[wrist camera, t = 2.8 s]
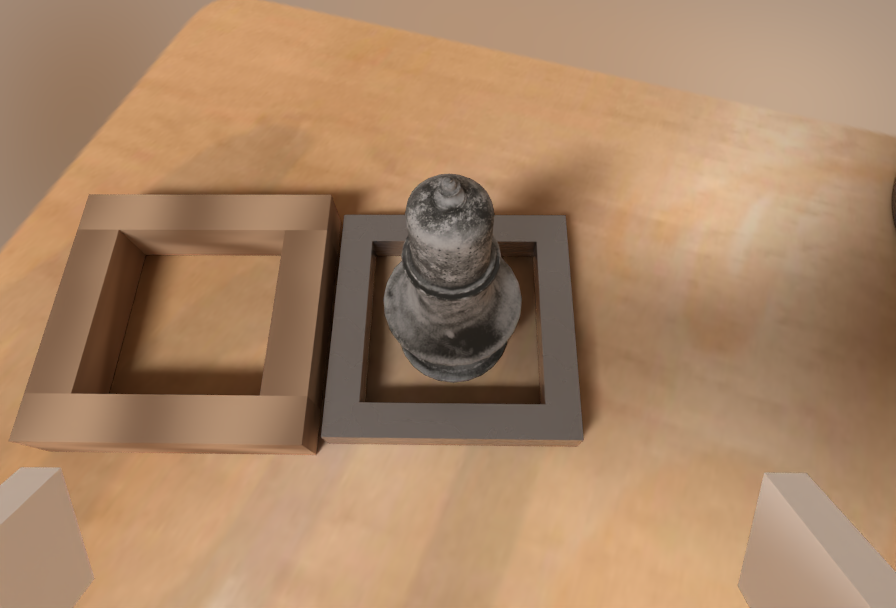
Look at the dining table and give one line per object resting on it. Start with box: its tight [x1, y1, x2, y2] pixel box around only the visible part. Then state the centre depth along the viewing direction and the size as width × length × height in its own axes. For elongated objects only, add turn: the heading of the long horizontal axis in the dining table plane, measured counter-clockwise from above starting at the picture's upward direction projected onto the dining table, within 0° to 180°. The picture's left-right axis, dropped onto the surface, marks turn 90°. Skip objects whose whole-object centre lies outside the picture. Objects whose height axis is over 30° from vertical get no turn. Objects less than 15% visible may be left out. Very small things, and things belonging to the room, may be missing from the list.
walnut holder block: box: [9, 195, 341, 455], centre depth 26 cm, size 12×12×2 cm
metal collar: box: [321, 215, 584, 447], centre depth 26 cm, size 11×11×2 cm
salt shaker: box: [384, 174, 522, 383], centre depth 22 cm, size 6×6×12 cm
